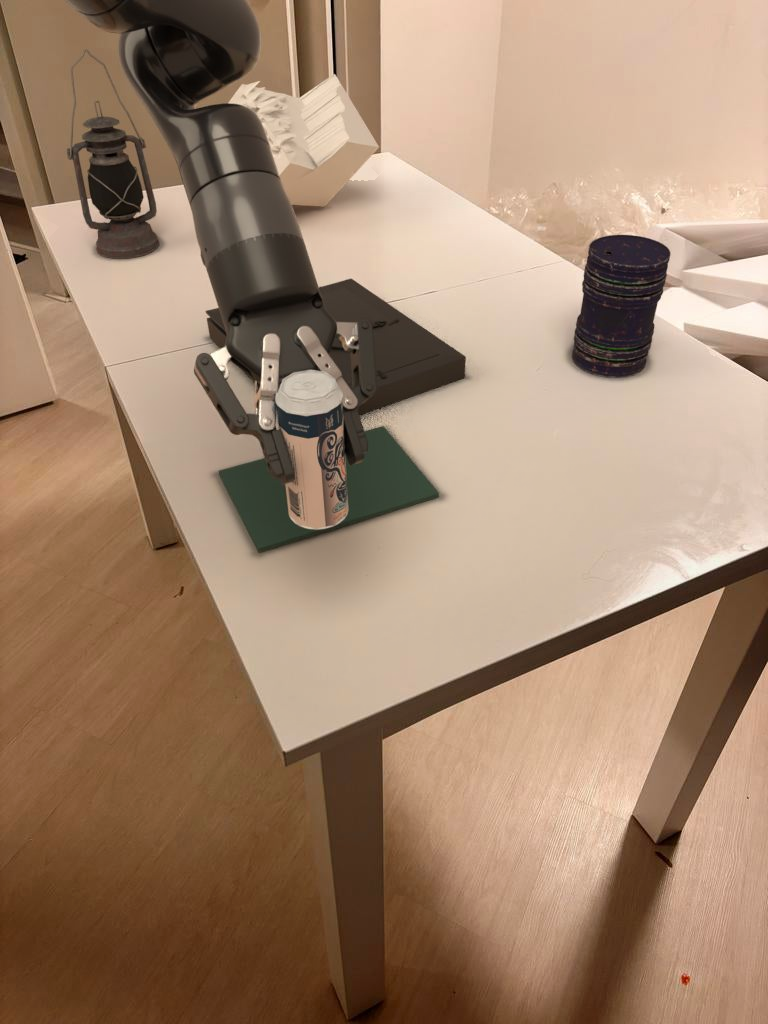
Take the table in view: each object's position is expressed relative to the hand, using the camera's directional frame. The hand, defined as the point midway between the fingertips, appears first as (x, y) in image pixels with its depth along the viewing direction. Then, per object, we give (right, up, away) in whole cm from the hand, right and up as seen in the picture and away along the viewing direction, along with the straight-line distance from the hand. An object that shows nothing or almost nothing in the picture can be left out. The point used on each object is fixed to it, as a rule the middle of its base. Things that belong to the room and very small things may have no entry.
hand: (323, 471), depth 59 cm
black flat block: (-3, +18, +49) cm, 52 cm away
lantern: (-40, +43, +80) cm, 99 cm away
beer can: (-1, -3, +5) cm, 6 cm away
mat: (-2, 0, +28) cm, 28 cm away
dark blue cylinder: (+34, +17, +48) cm, 62 cm away
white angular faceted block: (-24, +59, +91) cm, 111 cm away
